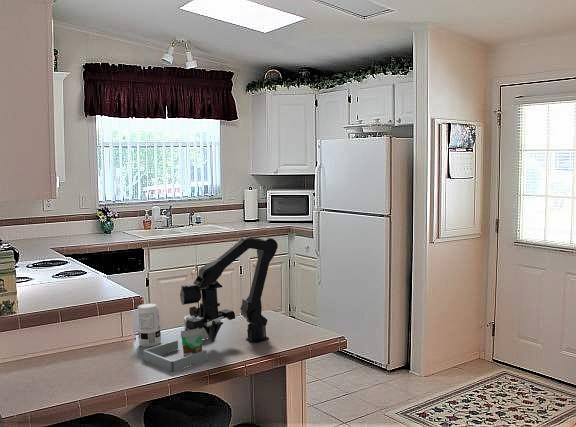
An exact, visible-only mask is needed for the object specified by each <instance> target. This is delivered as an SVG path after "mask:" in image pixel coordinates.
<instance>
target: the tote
mask: <svg viewBox="0 0 576 427" xmlns="http://www.w3.org/2000/svg"><path fill="white" fill-rule="evenodd" d="M177 349H178V350H179V341H178V340H176V339H175V340H172V341H169V342H165V343H162V344H158V345H156V346H152V347H147V348H146V349H145V348H144V349H142V351H141V353H142V360H143V361H145V362H147V363H149V364H152V365H153V366H156V367H158V368H161V369H163V370H167V371H168V370H169V371H168V372H170V373H174V371H175V372H177V371H179V369H180V370H183V369H185V368H184V367H186V368H188V367H187V366H189V367H191V366H190V365H192V366H194V365H193V364H195V365H198V364H200V362H201V363H203V362H204V363H205V362H206V361H208V351H207V350H206V349H204V350H202V351H201V352H198V353H195V354H192V355H189V356H185V357H184V356H183V357H180V358H176V359H174V360H171V359H168V358H166V357H165V356H164V355H166V354H169V353H172V352H171V351H173V352H175V351H174V350H176V351H178V350H177ZM168 352H169V353H168ZM165 353H166V354H165ZM162 355H163V356H162ZM197 363H198V364H197ZM182 368H183V369H182Z"/></svg>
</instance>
